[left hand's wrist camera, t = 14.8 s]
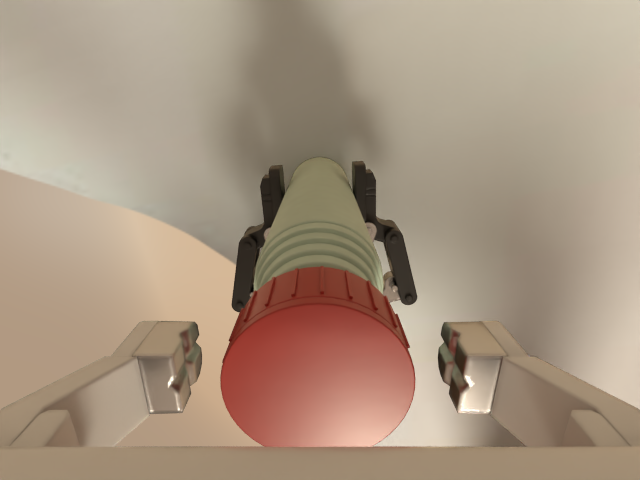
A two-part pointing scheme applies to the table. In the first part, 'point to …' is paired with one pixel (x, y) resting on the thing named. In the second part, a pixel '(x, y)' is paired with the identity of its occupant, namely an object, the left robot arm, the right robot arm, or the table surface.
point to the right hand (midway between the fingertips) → (316, 166)
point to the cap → (318, 362)
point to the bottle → (319, 228)
